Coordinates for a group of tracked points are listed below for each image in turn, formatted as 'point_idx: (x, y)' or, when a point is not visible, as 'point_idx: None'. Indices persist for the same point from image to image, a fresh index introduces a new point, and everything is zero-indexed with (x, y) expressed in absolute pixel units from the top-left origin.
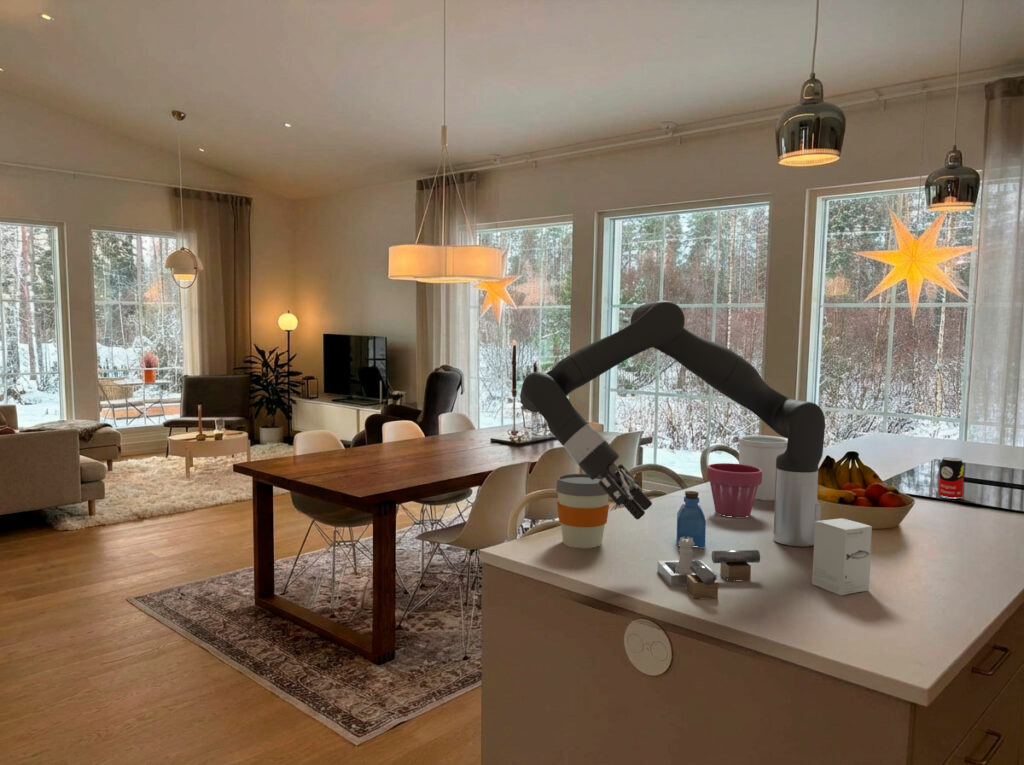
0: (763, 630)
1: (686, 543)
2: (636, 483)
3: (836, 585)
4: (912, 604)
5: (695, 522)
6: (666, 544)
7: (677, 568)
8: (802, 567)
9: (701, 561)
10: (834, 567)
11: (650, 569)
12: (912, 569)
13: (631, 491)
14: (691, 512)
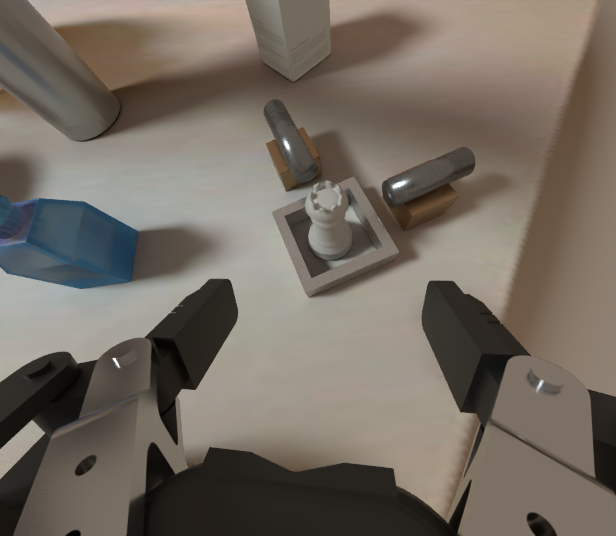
0: (532, 112)
1: (344, 198)
2: (55, 383)
3: (324, 45)
4: (331, 2)
5: (84, 224)
6: (119, 303)
7: (339, 247)
8: (218, 98)
9: (280, 209)
10: (318, 15)
11: (298, 313)
12: (199, 10)
13: (158, 407)
14: (47, 224)
